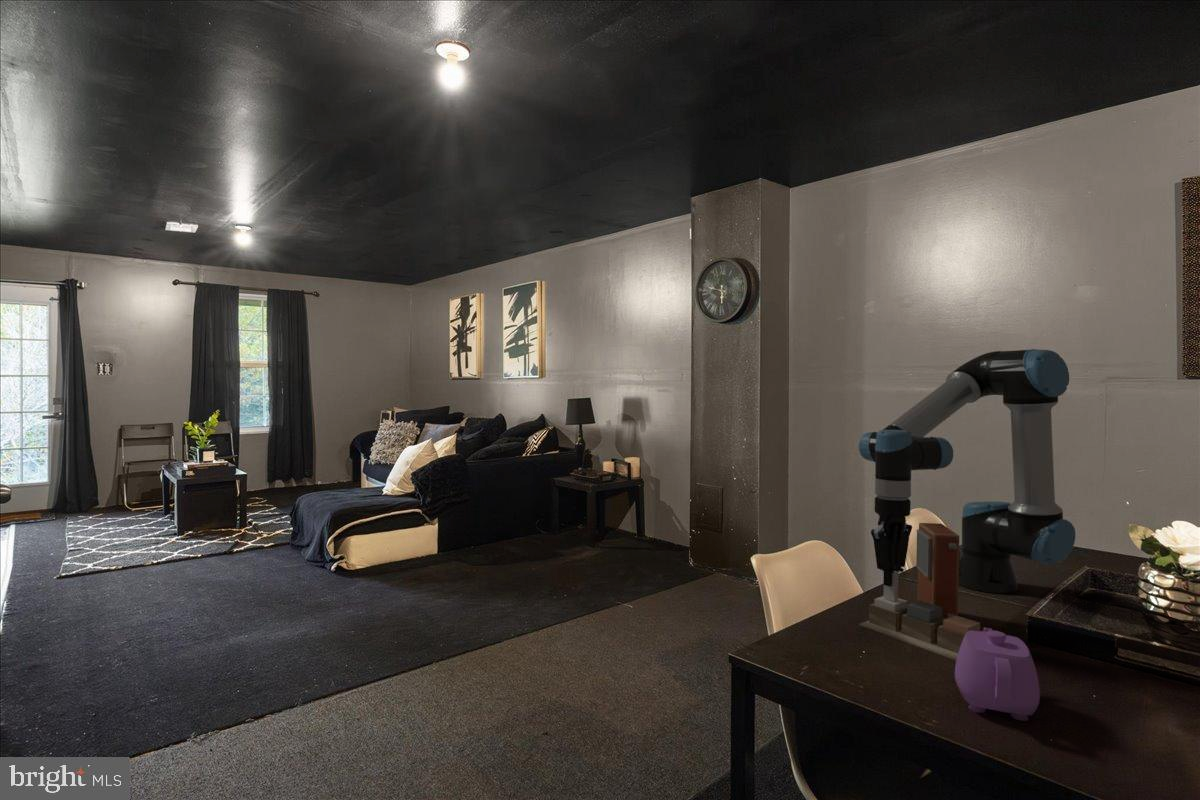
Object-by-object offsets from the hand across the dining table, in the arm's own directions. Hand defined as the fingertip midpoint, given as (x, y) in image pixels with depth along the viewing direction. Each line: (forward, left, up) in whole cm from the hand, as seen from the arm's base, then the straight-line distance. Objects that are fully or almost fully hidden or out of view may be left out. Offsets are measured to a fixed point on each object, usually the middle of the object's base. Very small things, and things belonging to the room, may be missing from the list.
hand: (890, 598), depth 148 cm
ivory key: (0, 0, -4) cm, 4 cm away
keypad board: (0, +8, -6) cm, 10 cm away
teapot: (+18, +31, -7) cm, 36 cm away
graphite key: (0, +8, -3) cm, 9 cm away
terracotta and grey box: (-14, +3, -7) cm, 16 cm away
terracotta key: (0, +16, -4) cm, 17 cm away
